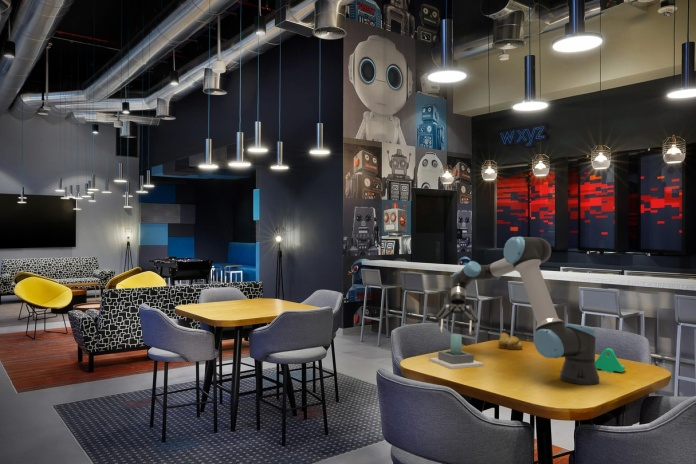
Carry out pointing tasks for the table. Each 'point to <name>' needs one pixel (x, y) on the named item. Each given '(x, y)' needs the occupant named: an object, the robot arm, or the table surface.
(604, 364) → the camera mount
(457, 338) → the peg
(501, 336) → the bread roll
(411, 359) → the table surface
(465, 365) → the dock
